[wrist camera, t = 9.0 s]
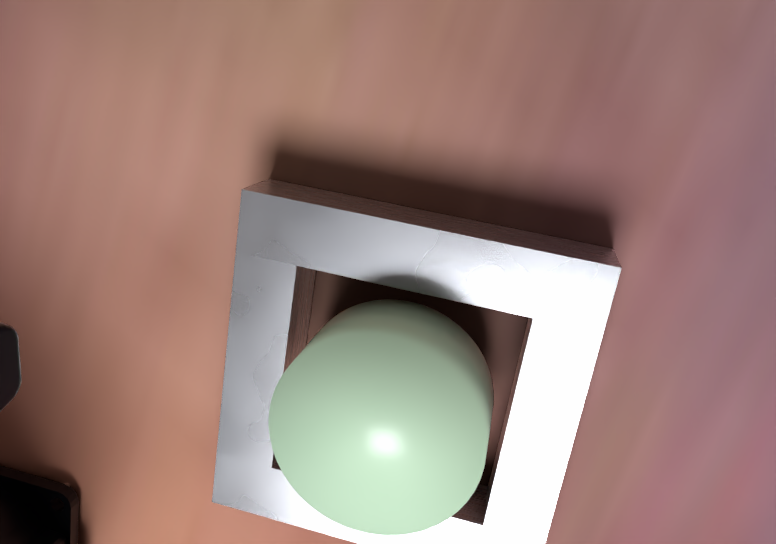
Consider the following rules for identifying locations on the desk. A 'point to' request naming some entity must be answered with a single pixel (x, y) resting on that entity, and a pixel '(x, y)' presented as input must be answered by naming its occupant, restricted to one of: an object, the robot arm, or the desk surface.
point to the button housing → (426, 276)
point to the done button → (384, 418)
